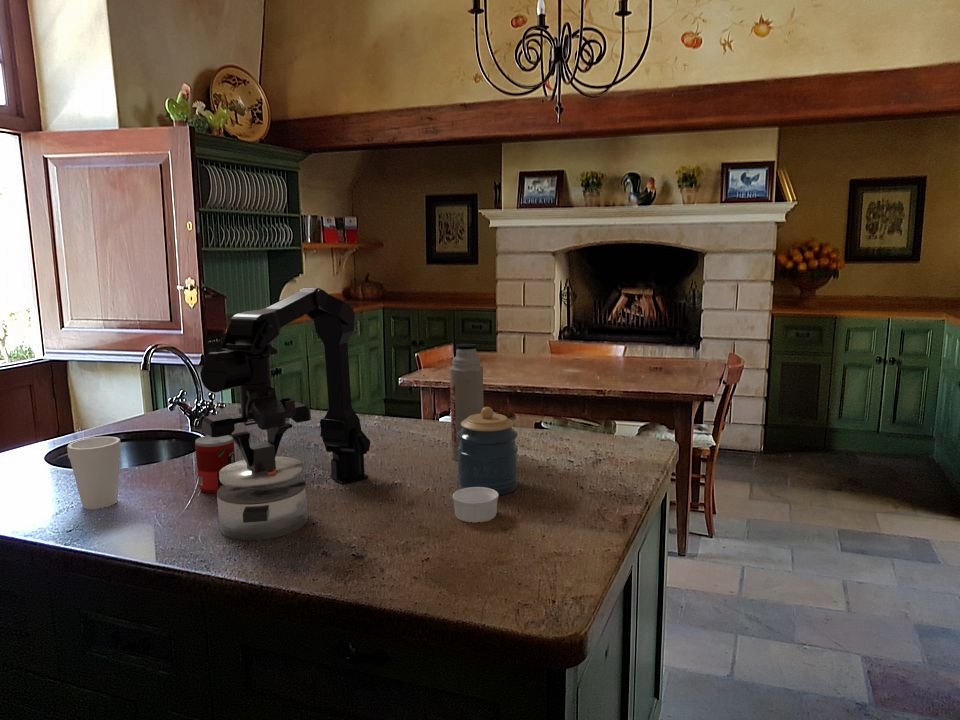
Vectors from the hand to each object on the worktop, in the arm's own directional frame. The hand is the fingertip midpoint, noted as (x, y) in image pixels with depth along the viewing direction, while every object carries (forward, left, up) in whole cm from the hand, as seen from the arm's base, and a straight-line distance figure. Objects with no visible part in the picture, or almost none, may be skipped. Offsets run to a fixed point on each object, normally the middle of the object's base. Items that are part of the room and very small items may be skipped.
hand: (260, 463), depth 133 cm
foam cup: (+22, -32, -12) cm, 41 cm away
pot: (0, 0, -12) cm, 12 cm away
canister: (-45, +12, -12) cm, 48 cm away
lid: (0, 0, -2) cm, 2 cm away
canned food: (0, -26, -12) cm, 29 cm away
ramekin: (-33, +23, -12) cm, 42 cm away
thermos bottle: (-55, -8, -12) cm, 57 cm away
